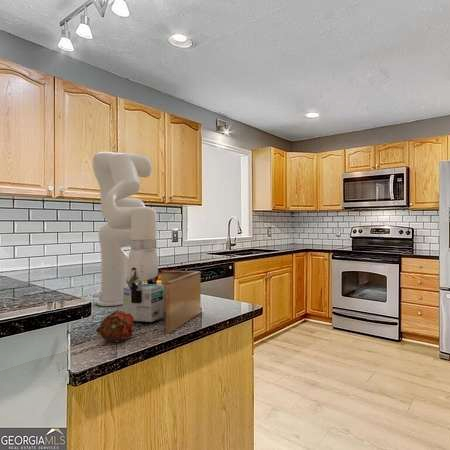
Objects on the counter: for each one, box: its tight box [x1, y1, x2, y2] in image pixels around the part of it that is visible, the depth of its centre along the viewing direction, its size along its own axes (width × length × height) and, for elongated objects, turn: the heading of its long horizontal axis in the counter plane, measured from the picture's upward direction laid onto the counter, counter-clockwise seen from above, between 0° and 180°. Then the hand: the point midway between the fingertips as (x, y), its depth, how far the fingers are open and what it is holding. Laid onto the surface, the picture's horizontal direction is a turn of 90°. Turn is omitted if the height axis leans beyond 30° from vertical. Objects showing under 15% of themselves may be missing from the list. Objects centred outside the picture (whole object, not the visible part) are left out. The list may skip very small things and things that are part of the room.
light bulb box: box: [122, 283, 165, 323], centre depth 105 cm, size 11×7×11 cm, turn 78°
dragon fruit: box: [95, 309, 135, 343], centre depth 89 cm, size 8×8×12 cm
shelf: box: [160, 270, 202, 334], centre depth 105 cm, size 14×21×15 cm
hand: (143, 299), depth 105 cm, fingers closed on light bulb box, 6 cm apart
